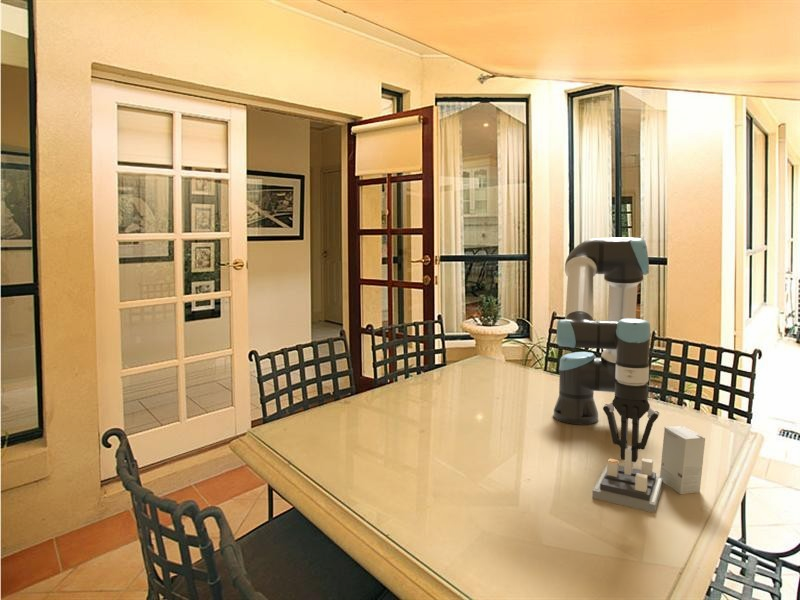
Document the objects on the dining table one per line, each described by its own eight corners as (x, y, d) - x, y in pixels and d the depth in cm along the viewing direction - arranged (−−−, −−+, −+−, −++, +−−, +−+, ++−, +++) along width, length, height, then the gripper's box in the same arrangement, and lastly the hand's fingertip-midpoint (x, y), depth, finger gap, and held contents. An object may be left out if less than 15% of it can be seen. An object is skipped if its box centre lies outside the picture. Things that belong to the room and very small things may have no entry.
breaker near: (634, 490, 125) (635, 476, 125) (636, 486, 127) (636, 472, 126) (645, 492, 124) (646, 478, 123) (647, 488, 125) (647, 475, 125)
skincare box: (659, 480, 137) (661, 426, 136) (679, 478, 138) (681, 424, 137) (681, 495, 129) (684, 438, 127) (703, 493, 130) (706, 436, 128)
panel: (592, 498, 129) (592, 484, 128) (605, 472, 142) (606, 460, 142) (654, 513, 121) (655, 498, 121) (662, 485, 135) (663, 472, 134)
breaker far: (641, 473, 133) (641, 460, 133) (642, 470, 135) (642, 457, 135) (651, 475, 132) (651, 462, 132) (652, 472, 134) (652, 459, 133)
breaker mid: (606, 474, 133) (607, 460, 133) (608, 471, 135) (608, 457, 134) (616, 477, 132) (617, 462, 131) (618, 474, 133) (618, 459, 133)
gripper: (600, 381, 129) (598, 472, 131) (658, 389, 122) (654, 484, 124) (606, 374, 135) (604, 461, 138) (662, 381, 128) (658, 472, 131)
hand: (628, 472), depth 131 cm, fingers closed
